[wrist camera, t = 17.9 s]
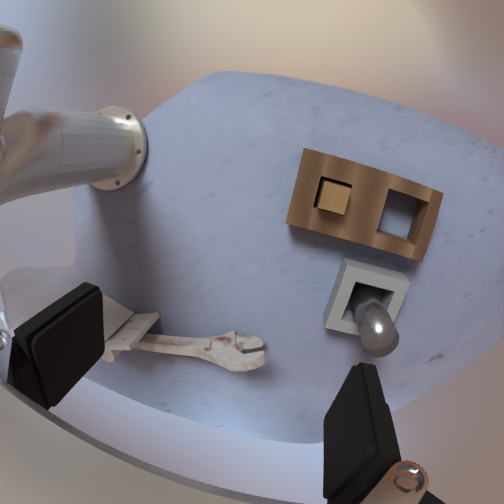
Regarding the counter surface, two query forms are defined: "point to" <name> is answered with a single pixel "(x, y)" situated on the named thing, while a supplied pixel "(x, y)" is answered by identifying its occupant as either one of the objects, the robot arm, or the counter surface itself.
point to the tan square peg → (333, 196)
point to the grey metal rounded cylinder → (373, 321)
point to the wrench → (209, 349)
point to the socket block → (361, 205)
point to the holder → (367, 274)
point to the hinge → (123, 328)
